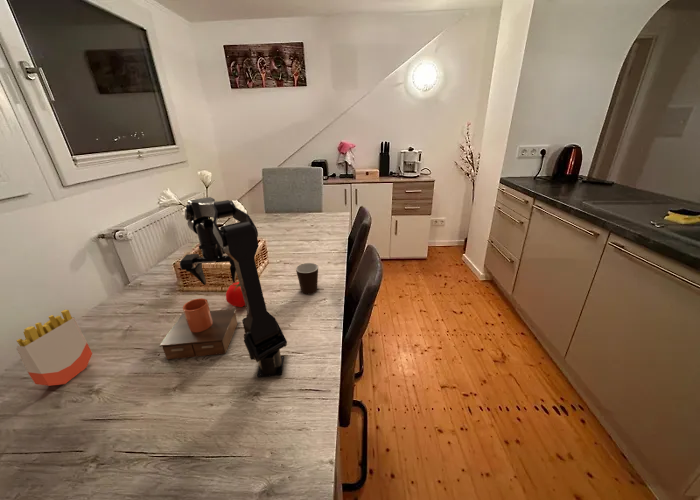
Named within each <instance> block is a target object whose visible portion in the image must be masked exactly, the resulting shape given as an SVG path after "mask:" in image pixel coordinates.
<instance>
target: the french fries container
mask: <svg viewBox="0 0 700 500" xmlns="http://www.w3.org/2000/svg"><path fill="white" fill-rule="evenodd" d="M60 313H61V315H62V316H61V315H56V316H55V315H54V314H51V315H49V316H47V317H48V319H49V320H47V321H46V322H44V323H43V324H42V322H36V323H35V324H34V325H35V326H34V325H33V326H32V325H29V326H28V327H25V328H24V329H23V336H24V337H25V338H24V339H22V338H18V339H16V342H17V344H18V345H17V346H16V351H17V354H18V355H19V357H20V359H21V361H22V363H23V366H24V368H25V370H26V372H27V373H28V375H29V377H30V378H31V379H32V381H33V383H34V384H35V385H40V386H47V387H50V386H51V387H52V386H59V385H66V384H67V383H68V382H70V381H71V380H73V379H74V378H75V377H76V376H77V375H78V374H79V373H81V372H83V371H84V370H85V369H87V367H88V364H89V363H90V360H91V357H92V356H93V351H92V350H91V348H90V346H89V344H88V341H87V340H86V338H85V336H84V334H83V332H82V330H81V328H80V326H79V324H78V323H77V320H76V318H75V317H73V316H72V315H71V312H70V310H69V309H64V310H61V311H60Z"/></svg>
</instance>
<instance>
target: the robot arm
mask: <svg viewBox="0 0 700 500" xmlns="http://www.w3.org/2000/svg"><path fill="white" fill-rule="evenodd" d="M229 217H232V218H233V219H234V220H236V221H238V222H234V223H230V224H226V225H221V226H220V227H219V226H218V221H219V219H224V218H229ZM184 218H185V221H187V227H188V228H189V229H190V230H191V231H192V232H193V233H195V234H196V235H197V237H198V241H199V245H198V249H199V250H201V254H202V256H200V254H199V253H187V254H185V255H184V256H183V257H182V258H181V259H180V260H179V267H180V270H185V272H187V273H188V272H189V273H190V274H191V275H193V276H194V277H195V278H196V279H197V280H198V281H199V282H200V283H201V284H202V285H203V286H206V285H207V279H206V276H205V273H204V270H203V264H212V263H213V264H214V263H229V265H230V266H229V271H230V276H231V281H232V282H233V283H236V280H237V278H238V282H239V283H240V287H241V291H242V295H243V298H244V302H245V306H244V307H245V309H246V317H244V318H242V322H241V323H242V325H243V329H244V334H243V338H244V339H243V342H244V346H245V347H246V350H247V352H248V356H249V359H250V360H251V361H255V362H256V363H258V364H259V365H258V369H257V373H256V377H257V378H267V377H276V376H282V375H283V373H284V364H285V356H284V355H281V349H283V348H286V347H287V346H288V341H287V338H286V336H285V334H284V333H283V330H282V329H281V327H280V325H279V322H278V321H277V320H276V318H275V317H274V316H273V315H272V314H271V313H269V311H268V310H267V306H266V302H265V297H264V293H263V288H262V284H261V279H260V276H259V272H258V268H257V263H256V260H255V257H256V254H257V251H258V248H259V240H258V237H259V232H258V231H259V230H258V229H257V226H256V225H255V223H254V221H253V220H252V218H251V217H250V215H249V214H248V213H246V212H245V211H244V210H241V209H239V208H238V207H237V206H236V204H235V203H234V202H233V201H232V200H229V199H225V200H215V198H213V197H212V196H208V197H201V198H195V199H189V200H187V204H185V208H184ZM212 218H213V219H212ZM225 254H226V255H225ZM233 283H232V284H233Z"/></svg>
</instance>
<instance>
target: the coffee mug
mask: <svg viewBox="0 0 700 500" xmlns="http://www.w3.org/2000/svg"><path fill="white" fill-rule="evenodd" d="M295 272H296V276H297V280H298V285H299V288H300V292H301V293H302V294H304V295H312V294H315V293H316V292H317V291H318V283H319V282H318V281H319V280H318V279H319V265H318V264H317V263H314V262H303V263H301V264H298V265H296V267H295Z"/></svg>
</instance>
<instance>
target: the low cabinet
mask: <svg viewBox="0 0 700 500" xmlns="http://www.w3.org/2000/svg"><path fill="white" fill-rule="evenodd" d="M236 312H237V308H232V309H228V308H227V309H218V310H217V309H216V310H210V313H211V317H212V321H213V324H212V325H211V327H209V328H208V329H206V330H204V331H201V332H191V331H190V330H189V327H188V324H187V321H186V318H185V314H184V312H183V313H181V314H180V316H179V317H178V319H177V320H176V322H175V323H173V326H172V327H171V328H170V330H169V331H168V332H167V334H166V336H165V337H164V338H163V340H162V341H161V342H160V343H159V348H160V347H161V348H162V349H163V353H164V355H165V358H166V360H176V359H186V358H187V359H188V358H194V357H205V356H206V357H207V356H217V355H225V354H226V353H227V351H228V348H229V345H230V343H231V342H232V341H231V340H232V339H233V336H234V333H235V331H236V328H237V325H238V319H237V314H236Z"/></svg>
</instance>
